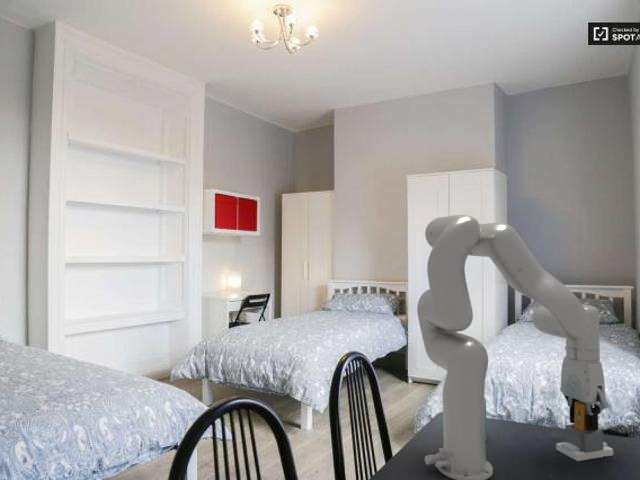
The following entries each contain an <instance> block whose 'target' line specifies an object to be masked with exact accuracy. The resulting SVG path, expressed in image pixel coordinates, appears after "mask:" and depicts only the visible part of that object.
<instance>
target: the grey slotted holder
mask: <svg viewBox="0 0 640 480" xmlns="http://www.w3.org/2000/svg"><path fill="white" fill-rule="evenodd" d="M555 450H556V451H559V452H560V453H562V454H564V455H566V456H568V457H569V458H572V459H573V460H575V461H576V462H581V461H586V460H592V459H597V458H604V456H605V457H609V456H610V457H611V456H614V449H613V448H612V447H610V446H608V443H607V442H605V441H604V431H602V430H601V429H599V428H598V429H597V430H593V432H586V433H583V432H581V431H579V430H577V429H575V428H574V423H571V424H565V441H564V442H558V443H557V442H556V443H555Z"/></svg>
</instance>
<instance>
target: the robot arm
mask: <svg viewBox="0 0 640 480" xmlns="http://www.w3.org/2000/svg"><path fill="white" fill-rule="evenodd" d="M424 233H425V234H424V237H425V240H426V242H427V244H428V245H429V246H430V247H431V248H432V249H431V251H430V253H429V256H428V260H427V266H426V267H427V268H426V270H427V271H426V272H427V279H428V286H429V289H427V290H425V291H423V293H422V294H421V296H420V297H419V299H418V302H417V308H416V309H417V310H416V312H417V313H416V314H417V318H418V323H419V327H420V332H421V336H422V342H423V344H424V345H423V346H424V349H425V353H426V355H427V357H428V359H429V360H430V361H431V362H432V363H433V364H435V365H436V366H438V367H440V368H442V369H444V370H446V377H445V379H444V383H443V385H442V433H443V435H442V436H443V443H442V444H443V447H439V452H437V453H436V454H429V455H428V454H427V455H425V456H424V462H425V464H426V465H434V466H435V467H436V468H437V469H438V471H439V472H440V473H441V474H442V475H444V476H445V477H447V478H450V479H452V480H488V479H489V478H491V477H492V476H493V473H494V471H493V470H494V467H493V465H492V464H491V463H490V461H489V460H487V459H486V440H485V399H486V397H485V390H486V379H487V372H488V366H489V354H488V351H487V349H486V348H485V346H484V345H483V343H481V342H480V341H479V340H477V338H474V337H472V336H470V335H467V334H463V333H461V332H463V331H466V330H467V329H468V328H469V327H471V325H472V322H473V318H474V312H473V306H472V301H471V297H470V293H469V287H468V283H467V279H466V272H465V267H466V261H467V259H468V257H469V256H471V257H472V256H473V257H487V258H489V259H490V260H491V261H492V262H493V264H494V266H496V268H497V270H498V272H500V273H501V275H502V277H503V279H505V281H506V282H507V284H508V285H509V286H510V287H511V288H512V289H513V290H515V291H516V292H518V293H519V294H521V295H523V296H525V297H526V298H529V299H531V300H533V301H535V302H536V303H538V304H540V305H541V306H539V307H537V308H536V309H535V310H534V311H533V314H532V316H531V319H532V320H531V321H532V324H533V326H534V328H535V329H536V330H538V331H539V332H541V333H543V334H545V335H549V336H553V337H559V338H562V339H565V346H564V350H565V355H564V356H563V360H562V364H561V371H560V389H559V390H560V392H561V393H562V396H564V398H565V400H566V401H567V404H566V405H567V406H568V407H569V422H570V423H571V424H574V413H575V401H581V402H584V403H586V406H587V411H588V414H586V430H588V431H592V430H597V429H599V415H601V413H602V412H603V411H604V410H606V409H609V408H610V403H608V401H607V399H606V386H605V385H606V383H605V375H604V369H603V365H602V364H603V363H602V362H601V360H600V359H601V358H600V357H601V356H600V348H601V347H600V311H599V309H598V308H597V307H596V306H593V305H588V304H582V302H580V300H579V298H578V297H577V296H576V295H575V294H574V293H573V292H572V291H571V290H570V289H569V287H567V286H566V285H564V284H563V283H562V282H561V281H560V280H558V279H557V278H556V277H555V276H553V275H551V273H549V272H548V271H546V270H545V269H544V268H542V266H541V265H540V263H539V262H538V261H537V260H536V258H535V256H534V255H533V254H532V252H531V251H530V249H529V248H528V247H527V245H526V243H525V242H524V241H523V239H522V237H520V235H519V234H518V232H517V231H516V229H515V228H514V227H512V226H511V225H510V224H508V223H505V222H504V223H503V222H490V223H479V221H478V220H477V219H476V218H475V217H473V216H471V215H467V214H456V215H449V216H448V215H447V216H439V217H436V218H434V219H432V220H431V221H430V222H428V224H427V226H426V227H425V231H424ZM592 404H593V408H592Z"/></svg>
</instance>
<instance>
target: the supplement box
mask: <svg viewBox="0 0 640 480" xmlns="http://www.w3.org/2000/svg"><path fill="white" fill-rule="evenodd" d="M593 407H594V404H592V408H593ZM586 414H588V411H587V406H586V403H584V402H581V401H575V413H574V423H573V424H574V428H575V429H577V430H579V431H581V432H583V433H586V432H593V430H592V431H588V430H586Z"/></svg>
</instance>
